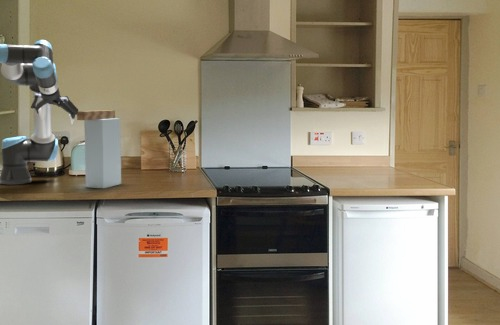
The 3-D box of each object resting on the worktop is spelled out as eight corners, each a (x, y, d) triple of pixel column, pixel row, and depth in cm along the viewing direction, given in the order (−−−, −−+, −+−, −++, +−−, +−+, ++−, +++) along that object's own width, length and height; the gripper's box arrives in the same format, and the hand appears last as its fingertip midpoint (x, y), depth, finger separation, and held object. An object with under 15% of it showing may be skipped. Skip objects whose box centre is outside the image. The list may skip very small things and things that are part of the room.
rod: (84, 120, 267) (84, 111, 267) (77, 120, 268) (76, 111, 268) (115, 118, 292) (114, 110, 291) (108, 118, 293) (107, 110, 292)
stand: (103, 188, 279) (102, 119, 276) (85, 187, 282) (84, 119, 279) (121, 183, 294) (120, 118, 291) (104, 182, 298) (102, 118, 294)
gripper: (16, 90, 241) (27, 122, 259) (76, 99, 242) (83, 130, 259) (22, 77, 245) (32, 109, 263) (80, 86, 246) (87, 117, 263)
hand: (57, 119), depth 261 cm, fingers open, 13 cm apart
